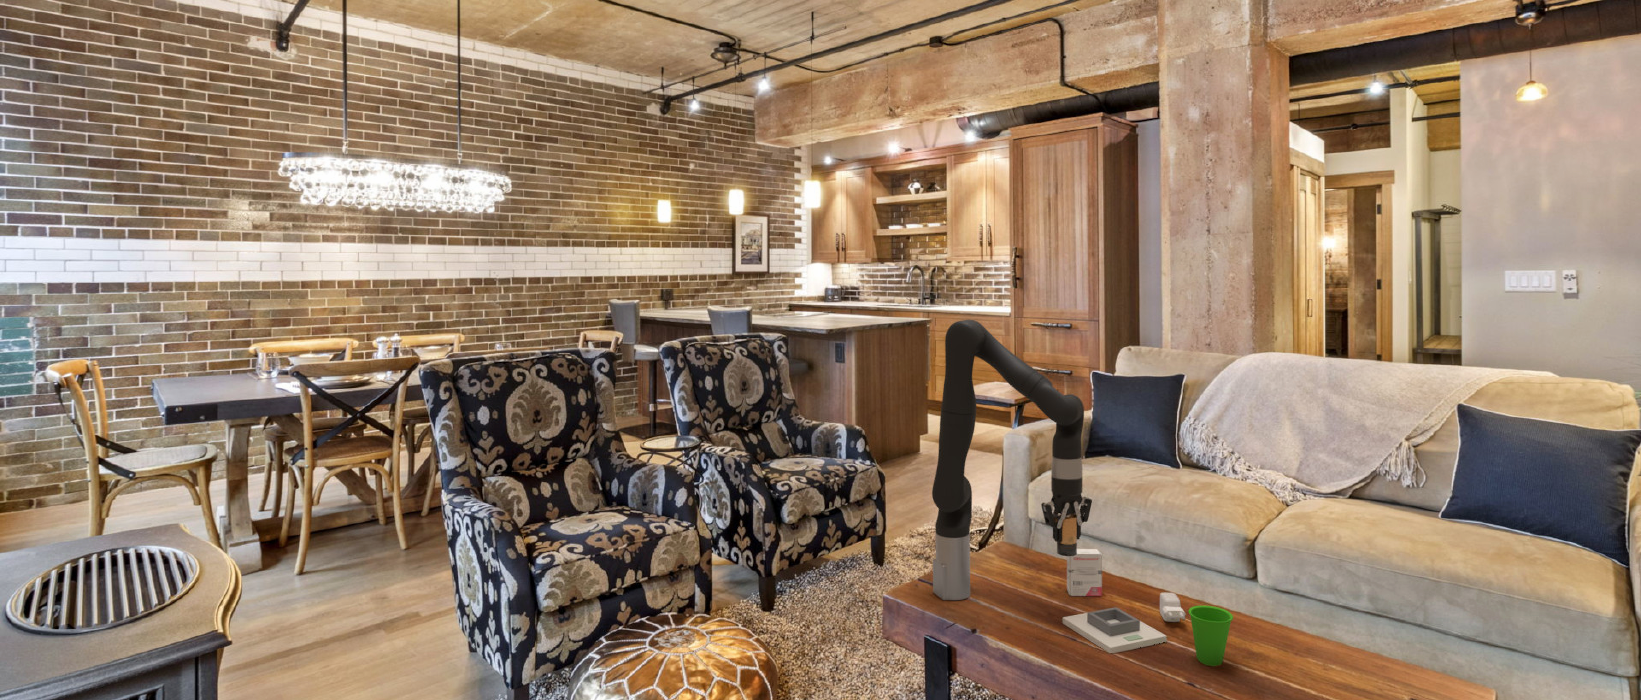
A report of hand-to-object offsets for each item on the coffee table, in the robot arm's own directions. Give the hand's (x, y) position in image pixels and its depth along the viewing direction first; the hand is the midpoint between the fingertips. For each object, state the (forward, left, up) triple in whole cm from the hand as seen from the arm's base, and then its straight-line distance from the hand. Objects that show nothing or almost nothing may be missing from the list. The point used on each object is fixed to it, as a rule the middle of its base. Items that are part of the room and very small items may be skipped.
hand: (1066, 539), depth 210 cm
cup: (+14, -33, -20) cm, 41 cm away
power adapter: (+21, -14, -20) cm, 32 cm away
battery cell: (0, 0, -3) cm, 3 cm away
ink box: (+13, +10, -20) cm, 25 cm away
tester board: (+4, -13, -19) cm, 24 cm away
